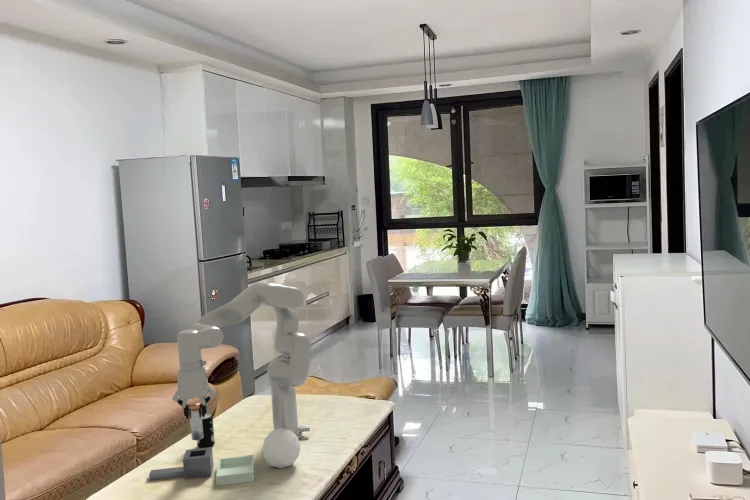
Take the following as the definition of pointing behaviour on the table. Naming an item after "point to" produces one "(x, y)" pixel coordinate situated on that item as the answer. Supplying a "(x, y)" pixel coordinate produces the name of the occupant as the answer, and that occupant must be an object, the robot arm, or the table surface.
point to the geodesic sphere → (281, 448)
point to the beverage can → (207, 432)
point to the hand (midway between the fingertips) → (195, 416)
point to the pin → (196, 420)
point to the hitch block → (189, 466)
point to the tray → (235, 470)
